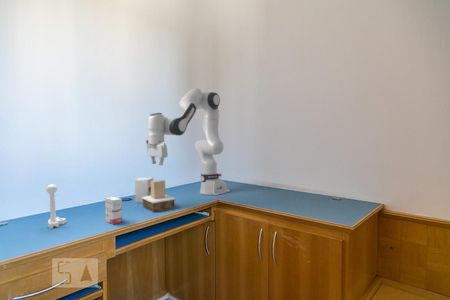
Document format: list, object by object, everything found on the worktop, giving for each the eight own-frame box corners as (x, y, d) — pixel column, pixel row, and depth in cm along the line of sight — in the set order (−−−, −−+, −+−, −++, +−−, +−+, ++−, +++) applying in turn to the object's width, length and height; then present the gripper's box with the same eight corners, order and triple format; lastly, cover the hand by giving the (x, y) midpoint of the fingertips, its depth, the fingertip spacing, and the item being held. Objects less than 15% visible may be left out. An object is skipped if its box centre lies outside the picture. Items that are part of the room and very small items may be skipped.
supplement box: (148, 203, 182) (147, 179, 181) (135, 202, 184) (134, 179, 183) (154, 200, 191) (153, 177, 190) (141, 199, 193) (141, 177, 192)
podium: (163, 203, 183) (163, 193, 182) (175, 208, 170) (175, 198, 170) (141, 206, 174) (141, 197, 174) (153, 212, 161) (153, 202, 161)
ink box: (123, 222, 145) (122, 198, 144) (113, 224, 141) (112, 200, 141) (114, 218, 151) (113, 196, 150) (105, 221, 147) (104, 198, 146)
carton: (162, 196, 176) (161, 179, 175) (165, 197, 172) (165, 180, 171) (151, 197, 171) (150, 181, 170) (154, 199, 168) (153, 182, 167)
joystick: (49, 222, 146) (47, 183, 145) (66, 220, 150) (64, 181, 148) (47, 229, 136) (45, 186, 135) (65, 226, 140) (63, 185, 138)
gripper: (169, 141, 163) (170, 165, 164) (154, 140, 179) (155, 162, 180) (159, 141, 159) (160, 166, 160) (144, 140, 175) (145, 163, 176)
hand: (157, 164), depth 170 cm, fingers open, 8 cm apart
